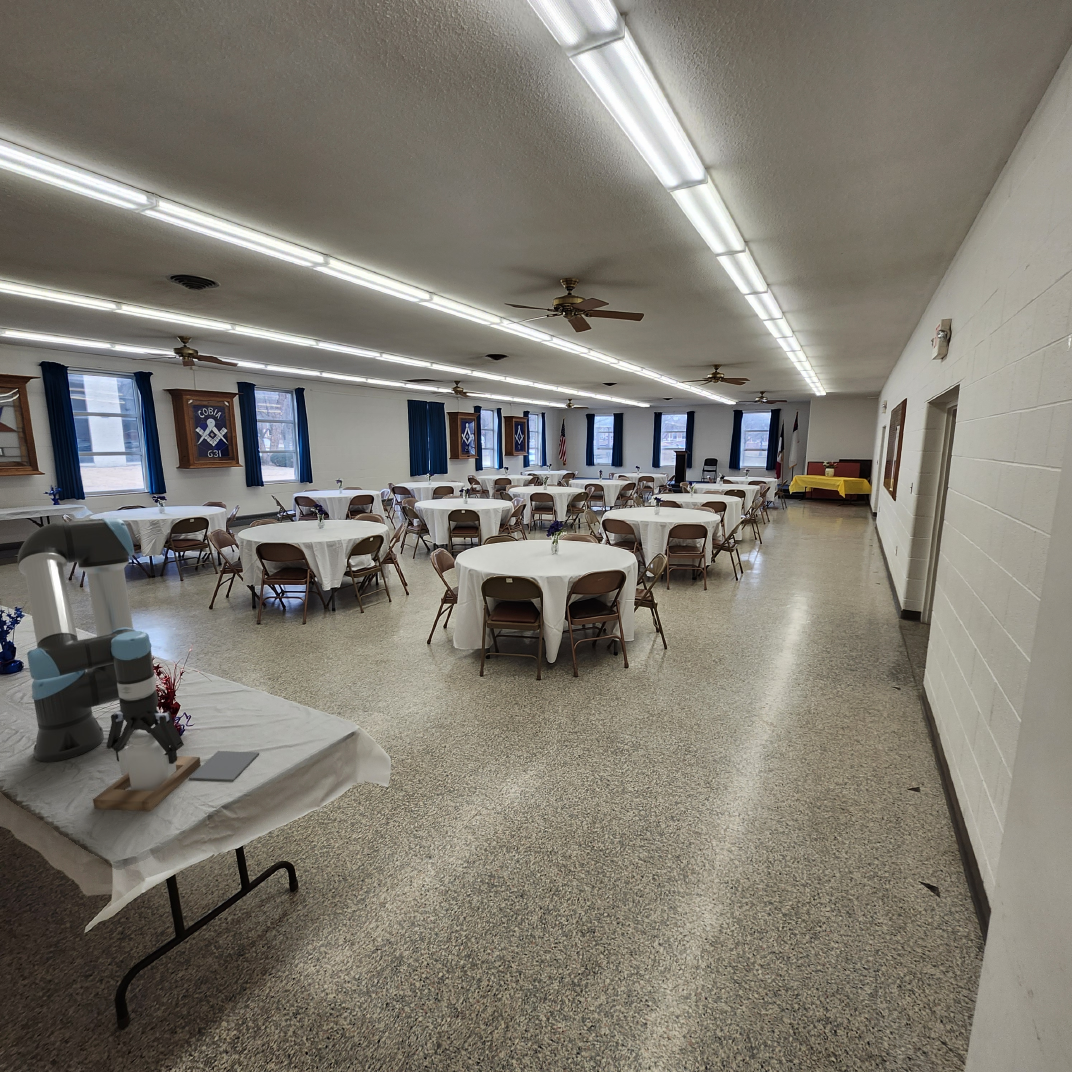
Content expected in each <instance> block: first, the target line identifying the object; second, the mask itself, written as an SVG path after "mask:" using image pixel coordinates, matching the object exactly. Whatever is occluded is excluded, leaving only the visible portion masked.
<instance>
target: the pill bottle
mask: <svg viewBox="0 0 1072 1072" xmlns="http://www.w3.org/2000/svg"><path fill="white" fill-rule="evenodd" d="M129 741H130V744H129V745H127V746H128V748H127V750H126V757H127V764H128V771H129V777H130V784H131V785H130V790H140V791H155V790H156V789H157V788H158V787H159V786H160V785H161V784H163V783H164V782H165V781H166V780H167V779H168V778H169V777H166V774H165V766H164V759H163V754H164V753H165V750H164V749H163V748H162V747H161V746H160V744H159V743H158V742H157V741H156V739H155V738H154V737H153V736H152V735H151V734H149V733H147V731H146V730H140V729H139V730H134V731H133V733H132V734H131V736H130V738H129Z"/></svg>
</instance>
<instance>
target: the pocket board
mask: <svg viewBox="0 0 1072 1072" xmlns="http://www.w3.org/2000/svg"><path fill="white" fill-rule="evenodd" d="M175 763H176V772H174V773H173V774H172V775H171V776H170V777H169V778H168V779H167V780H166V781H165V782H164V783H163V784H161V785H160V786H159V787H158V788H157V789H156V790H155V791H140V790H132V789H128V788H129V787H131V784H130V777H129V772H128V773H127V774H125V775H121V777H120V778H119V779H117V780H115V782H113V783H112V784H110V785H109V786H108V787H107V788H106V789H104V790H102V792H100V793H99V794H97V796H95V797H94V798H92V802H93V808H94V809H95V810H96V809H98V810H100V809H101V810H102V809H103V810H104V809H105V810H121V811H143V812H150V811H152V810H154V808H155V807H156V806H157V805H159V804H160V803H161V802H162V801H164V800H165V798H166V797H167V796H169V795H170V794H171V793H172V792H173V791H174V790H176V788H177V787H179V785H181V784H182V783H183V782H184V781H185V780H186V779H187V778H189V777H190V776H191V775H192V774H193V773H194V772H195V771H197V770H198V769H199V768H200V767H201V766H202V764H201V758H200V756H189V755H187V756H186V755H185V756H184V755H182V756H181V755H180V756H179V755H177V761H176V762H175Z"/></svg>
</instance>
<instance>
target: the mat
mask: <svg viewBox="0 0 1072 1072" xmlns="http://www.w3.org/2000/svg"><path fill="white" fill-rule="evenodd" d="M259 755H260V752H259V751H258V752H257V751H256V752H255V751H254V752H253V751H232V750H231V751H230V750H229V751H228V750H217V751H216V752H215V753H214V754H213V755H212V756H211V757H209V759H207V760H206V761H205V762H204V763H203V764H201V765H200V766H199V767H198V768H197V769H196V770H195V771H194V772H193V773H192V774H190V775H189V776H188V779H189V780H196V781H199V780H200V781H217V782H218V781H219V782H220V781H221V782H224V781H225V782H234V781H235V780H236V779H237V778H238V776H240V775H241V774H242V773H243V772H244V771H245V770H246V768H248V766H249V765H250V764H252V762H253V761H254V760H255V759H256V758H257V757H258V756H259Z"/></svg>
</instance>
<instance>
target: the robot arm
mask: <svg viewBox="0 0 1072 1072" xmlns="http://www.w3.org/2000/svg"><path fill="white" fill-rule="evenodd" d="M130 534H131V533H130V531H129V529H128V526H127V525H126V523H125V522H124V520H122V519H121V518H114V517H113V518H104V517H103V518H102V517H101V518H96V519H88V520H86V519H84V520H83V519H82V520H76V521H75V520H74V521H73V520H72V521H58V522H57V521H56V522H51V523H49V524H46V525H43V526H42V527H40V528H38V529H37V530H35V531H33V532H32V533H31V534H30V535H29V536H28V537H27V538H26V539H25V541H24V542H23V544H22V545H21V547H20V548H19V550H18V554H17V567H18V571H19V572H20V573H21V574H22V575H23V576H24V577H25V582H26V587H27V594H28V601H29V606H30V612H31V619H32V624H33V630H34V635H35V643H36V648H34V649H30V650H28V652H27V653H26V655H27V656H26V657H27V663H28V668H29V672H30V673H29V674H30V677H31V679H32V680H33V681H32V683H31V691H32V694H31V699H32V700H33V703H34V710H35V716H36V722H37V726H38V730H37V734H36V735H37V736H36V741H35V744H34V747H33V755H34V756H33V757H34V758H35V760H36V761H39V762H42V763H44V762H46V763H52V762H59V761H63V760H68V759H72V758H74V757H77V756H78V757H79V756H80V755H83V754H85V753H87V752H90V751H92V750H93V749H95V748H96V747H97V746H99V745H100V744H102V742H103V741H104V738H105V734H104V730H103V728H102V726H100V723H99V722H98V720H97V719H96V718H95V716H94V715H93V710H92V708H94V707H97V706H102V705H104V704H108V703H112V702H116V701H117V702H118V701H119V708H120V709H118V710H117V711H116V712H113V714H111V715H110V721H111V722H110V723H111V725H110V730H109V734H108V737H107V742H106V745H105V747H106V749H108V750H109V749H112V750H113V751H114V752H115V756H116V761H117V762H118V763H119V769H120V776H124V775H125V774H127V773H128V772H129V771H128V764H127V757H126V750H127V748H128V746H129V745H128V744H129V742H128V741H130V736H131V734H132V733H134V732H135V731H137V730H146V731H147V733H149V734H151V735H152V736H153V737H154V738H155V739H156V741H157V742H158V743H159V744H160V746H161V747H162V748H163V749H164V750H165V753H164V754H163V759H164V766H165V774H166V777H171V776H172V775H173V774H174V772H176V763H175V762H176V761H177V756H178V754H177V751H179V750H180V749H181V748H182V747H183V746H184V741H183V739H182V738H181V736H180V733H179V731H178V730H177V728H176V726H175V723H174V721H173V720H172V712H170V711H166V712H163V713H161V712H159V711H158V705H159V704H158V703H159V699H158V692H157V683H156V682H157V681H156V677H155V671H154V664H153V662H154V661H153V655H152V643H151V640H150V636H149V634H148V632H146V631H141V630H136V629H134V625H133V619H132V612H131V607H130V599H129V593H128V587H127V580H126V573H125V567H126V566H127V565H129V563H130V557H132V556H134V555H135V548H134V543H133V540H132V537H131V535H130ZM68 563H69V564H70V563H71V564H72V563H77V565H78V568H79V570H81V571H83V572H84V573H85V574H86V576H87V583H88V584H87V585H88V589H89V594H90V601H91V607H92V614H93V619H94V626H95V632H96V636H95V637H89V638H83V639H78V635H77V629H76V625H75V619H74V614H73V610H72V605H71V601H70V599H71V598H70V594H69V589H68V586H67V581H66V575H65V571H64V570H65V569H66V568H67V566H68ZM124 721H125V722H126V723H125V726H124V728H123V725H124Z"/></svg>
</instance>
